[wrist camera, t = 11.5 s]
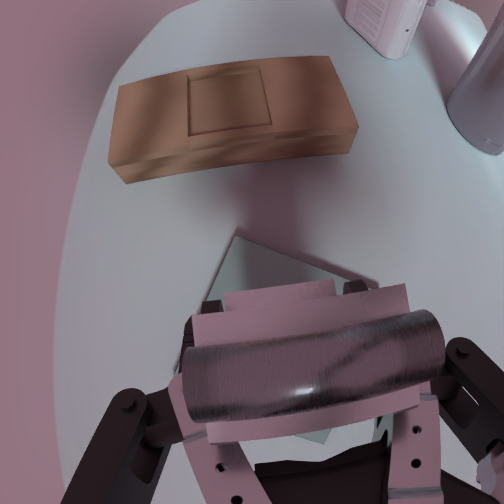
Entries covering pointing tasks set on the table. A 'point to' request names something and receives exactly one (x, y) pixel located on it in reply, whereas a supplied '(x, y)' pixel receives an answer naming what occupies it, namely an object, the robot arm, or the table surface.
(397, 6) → the photo printer
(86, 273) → the table surface
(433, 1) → the skincare box
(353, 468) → the robot arm
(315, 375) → the lever cap
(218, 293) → the rubber mat
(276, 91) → the body
